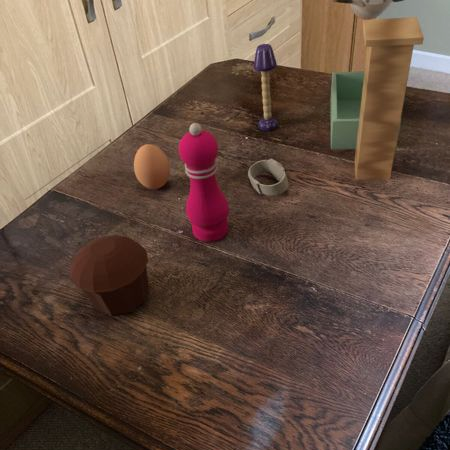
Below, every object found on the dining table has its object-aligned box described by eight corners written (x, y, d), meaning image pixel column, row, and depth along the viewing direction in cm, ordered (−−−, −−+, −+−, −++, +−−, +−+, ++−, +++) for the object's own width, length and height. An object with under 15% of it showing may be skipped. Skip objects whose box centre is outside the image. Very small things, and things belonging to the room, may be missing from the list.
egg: (158, 172, 100) (149, 132, 94) (180, 184, 97) (172, 143, 90) (132, 188, 97) (121, 147, 91) (153, 201, 94) (143, 159, 87)
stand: (391, 165, 94) (417, 16, 75) (394, 190, 89) (423, 37, 70) (348, 165, 95) (363, 19, 76) (349, 190, 90) (365, 39, 71)
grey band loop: (296, 191, 91) (296, 168, 88) (268, 204, 90) (267, 181, 86) (267, 170, 97) (267, 147, 93) (241, 182, 95) (239, 159, 92)
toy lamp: (252, 127, 109) (247, 48, 97) (265, 118, 111) (262, 39, 99) (269, 133, 107) (267, 52, 94) (282, 123, 109) (281, 44, 96)
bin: (387, 99, 112) (391, 70, 107) (395, 150, 97) (401, 119, 93) (330, 100, 114) (332, 72, 109) (330, 151, 99) (332, 121, 95)
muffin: (142, 260, 83) (128, 212, 75) (167, 301, 76) (154, 253, 68) (74, 287, 80) (53, 240, 72) (94, 333, 73) (72, 286, 65)
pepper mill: (208, 249, 83) (190, 142, 68) (182, 231, 87) (160, 125, 72) (239, 229, 86) (229, 121, 71) (213, 212, 90) (198, 106, 75)
